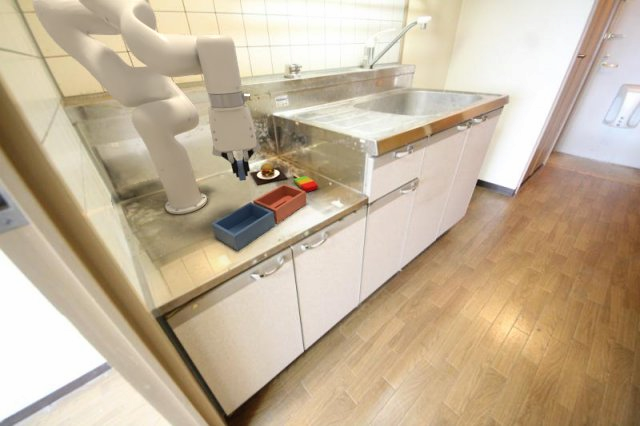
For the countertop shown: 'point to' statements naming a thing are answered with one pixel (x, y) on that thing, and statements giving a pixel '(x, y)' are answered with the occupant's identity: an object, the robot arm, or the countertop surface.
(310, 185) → the popsicle
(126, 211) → the countertop surface
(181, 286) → the countertop surface
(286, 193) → the terracotta bin
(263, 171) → the hamburger
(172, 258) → the countertop surface
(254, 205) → the blue bin
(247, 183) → the countertop surface
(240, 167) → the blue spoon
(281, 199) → the terracotta spoon
